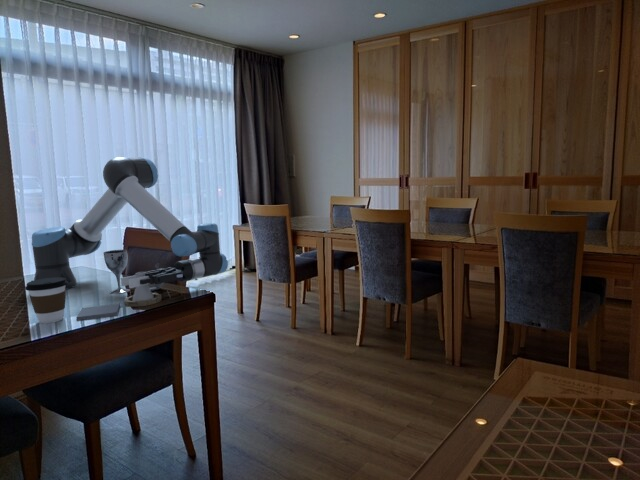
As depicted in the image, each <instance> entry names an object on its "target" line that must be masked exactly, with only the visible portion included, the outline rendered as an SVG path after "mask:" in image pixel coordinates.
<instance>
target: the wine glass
mask: <svg viewBox="0 0 640 480" xmlns="http://www.w3.org/2000/svg"><path fill="white" fill-rule="evenodd" d="M128 257H129V255H128V250H127V249H114V250H108V251H104V252H103V259H104V263H105V266H106V267H107V270H109V271H110V272H111V273H112V274H113V275H114V276H115V277H116V283H117V288H116V289H114V290H111V291H109V294H111V295H118V294H125V293H128V292H130V291H131V290H130V289H131V288H129V289H128V288H123V287H122V286H121V275H122V273H123V272H124V270H125V269H126V267H127V265H128V260H129V259H128Z"/></svg>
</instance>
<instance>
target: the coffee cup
mask: <svg viewBox="0 0 640 480" xmlns="http://www.w3.org/2000/svg"><path fill="white" fill-rule="evenodd" d="M67 284H68V281H66V279H65V278H63V277H54V278H44V279H39V280H34V279H33V280H31V281H29V282H27V283H26V286H25V288H24V290H25V291H28V293H29V299H30V301H31V302H30V303H31V304H32V308H33V312H34V313H35V314H36V318H37V320H38V322H39V323H40V324H52V323H56V322H57V323H58V322H60V321H62V320H63V319H64V316H65V309H66V297H67V296H66V294H67V289H65V285H67Z"/></svg>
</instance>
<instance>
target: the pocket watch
mask: <svg viewBox="0 0 640 480" xmlns="http://www.w3.org/2000/svg"><path fill="white" fill-rule="evenodd" d="M160 265H161V264H160V263H159V262H157V263H156V264H155V265H154V267H155V268H156V270H157V269H159V267H160ZM164 284H165V283H160V284H155V283H154V284H149V285H148V286H149V288H150V290H151V292H154V291H157V290H160V289H161V288H162V287H163V286H164Z"/></svg>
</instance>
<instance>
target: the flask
mask: <svg viewBox="0 0 640 480" xmlns="http://www.w3.org/2000/svg"><path fill="white" fill-rule="evenodd" d="M146 272H147V271H138V272H134V273H135V274H134V275H136V277H137V278H139V277H144V276H145V274H146ZM149 286H150V285H149V284H148V285H143V286H139V287H134V288H135V289H134V292H133V295H134V296H133V295H132V296H133V299H132V301H143V300H149V299H153V298H154V296H153V294H152V293H153V291H151V290H150V288H149Z"/></svg>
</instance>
